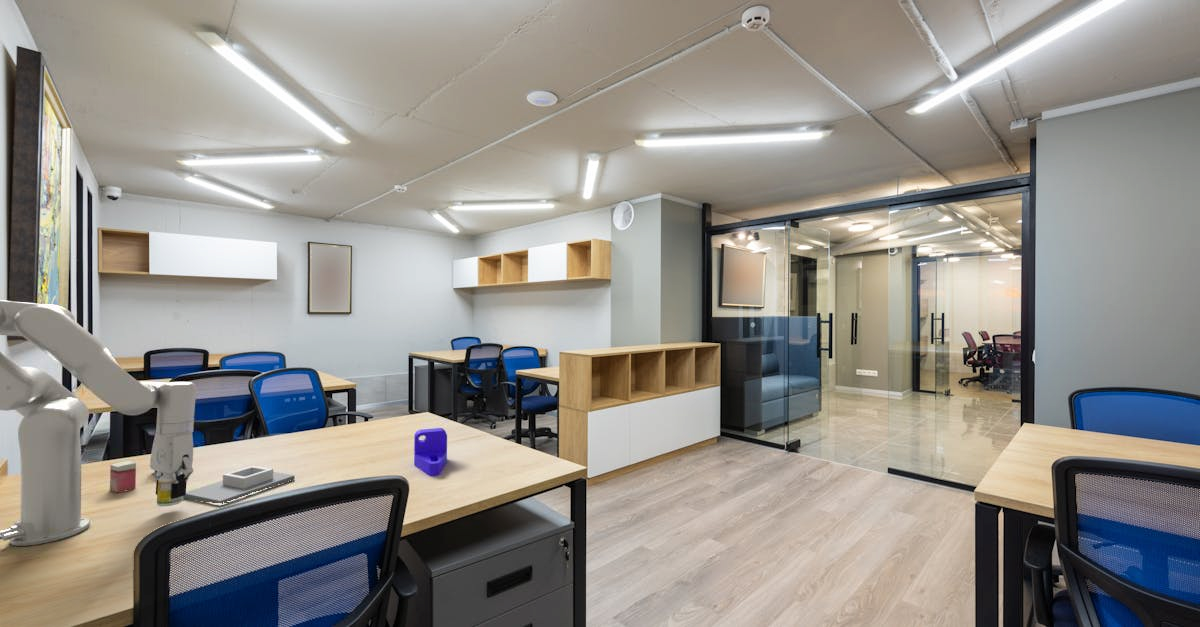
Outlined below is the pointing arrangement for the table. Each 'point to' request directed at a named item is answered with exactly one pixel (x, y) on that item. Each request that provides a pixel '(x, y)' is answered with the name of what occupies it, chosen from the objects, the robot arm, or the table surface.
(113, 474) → the small box
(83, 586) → the table surface
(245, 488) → the socket holder
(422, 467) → the bracket
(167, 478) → the supplement bottle
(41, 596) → the table surface
